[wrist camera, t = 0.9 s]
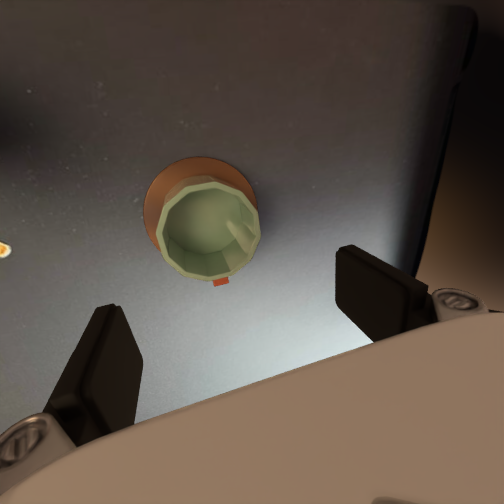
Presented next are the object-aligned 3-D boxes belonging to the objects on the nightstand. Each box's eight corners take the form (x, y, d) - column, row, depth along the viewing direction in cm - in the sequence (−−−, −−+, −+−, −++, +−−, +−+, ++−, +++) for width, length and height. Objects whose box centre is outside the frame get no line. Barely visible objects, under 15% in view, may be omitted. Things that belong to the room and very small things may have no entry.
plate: (127, 167, 20) (126, 167, 19) (248, 148, 22) (250, 148, 21) (162, 275, 24) (161, 279, 24) (261, 252, 26) (263, 254, 26)
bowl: (150, 183, 20) (143, 194, 16) (237, 168, 22) (253, 174, 17) (175, 269, 23) (175, 298, 19) (249, 252, 25) (265, 275, 20)
